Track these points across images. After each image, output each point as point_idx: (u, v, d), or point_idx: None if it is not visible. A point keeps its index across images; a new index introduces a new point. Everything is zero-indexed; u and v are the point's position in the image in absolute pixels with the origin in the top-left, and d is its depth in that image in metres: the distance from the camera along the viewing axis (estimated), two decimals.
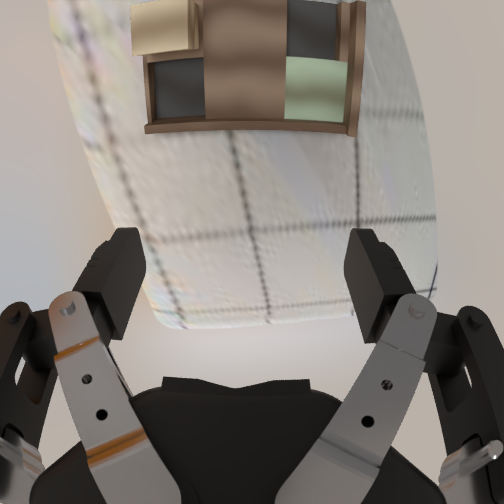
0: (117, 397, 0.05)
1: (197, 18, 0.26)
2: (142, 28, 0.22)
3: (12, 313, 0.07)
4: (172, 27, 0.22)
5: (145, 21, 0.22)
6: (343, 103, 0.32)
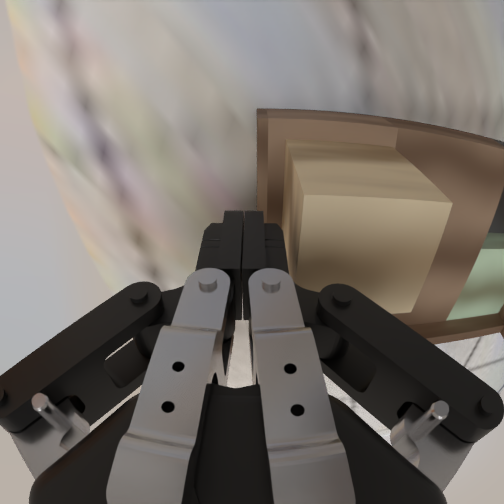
0: (193, 400, 0.05)
1: None
2: (329, 265, 0.11)
3: (138, 294, 0.08)
4: (398, 271, 0.11)
5: (340, 251, 0.11)
6: None
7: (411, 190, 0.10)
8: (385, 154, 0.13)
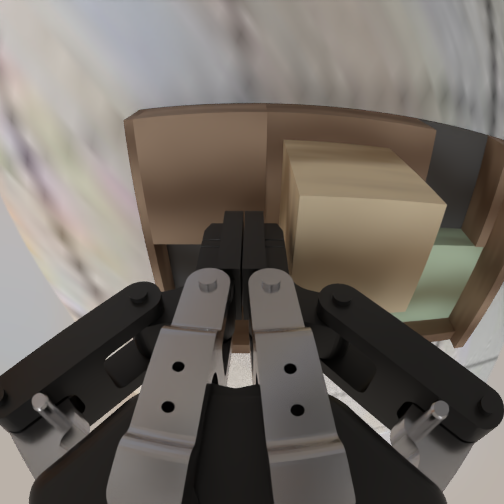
0: (193, 400, 0.05)
1: None
2: (324, 265, 0.11)
3: (138, 294, 0.08)
4: (392, 271, 0.11)
5: (335, 250, 0.11)
6: (457, 297, 0.21)
7: (406, 191, 0.10)
8: (381, 155, 0.13)
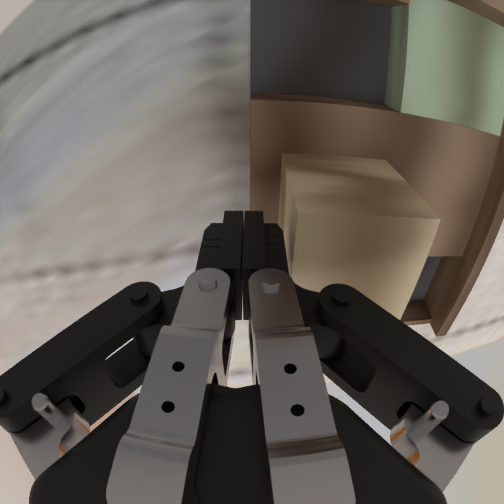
0: (193, 400, 0.05)
1: (320, 158, 0.14)
2: None
3: (138, 294, 0.08)
4: (375, 250, 0.11)
5: None
6: (486, 20, 0.09)
7: (291, 237, 0.12)
8: (283, 182, 0.14)
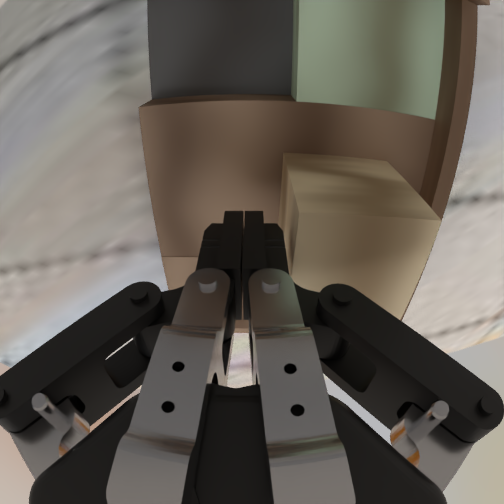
0: (193, 400, 0.05)
1: (321, 158, 0.14)
2: None
3: (138, 294, 0.08)
4: (376, 251, 0.11)
5: None
6: None
7: (292, 236, 0.12)
8: (284, 182, 0.14)
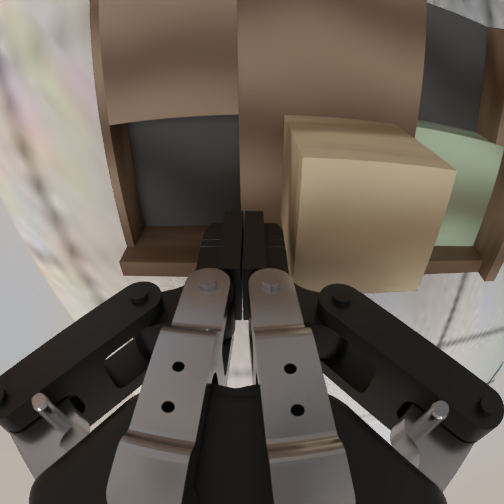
0: (194, 400, 0.05)
1: None
2: (330, 235, 0.10)
3: (138, 294, 0.08)
4: (403, 244, 0.11)
5: (342, 219, 0.10)
6: (482, 217, 0.17)
7: (413, 157, 0.09)
8: (385, 128, 0.12)
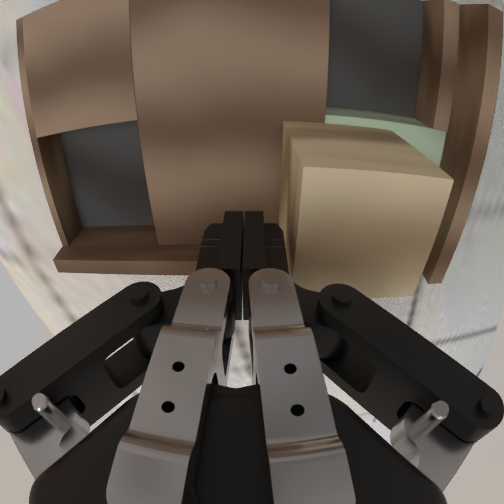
0: (194, 400, 0.05)
1: None
2: (329, 243, 0.11)
3: (138, 294, 0.08)
4: (399, 250, 0.11)
5: (340, 227, 0.10)
6: None
7: (411, 166, 0.10)
8: (383, 135, 0.13)
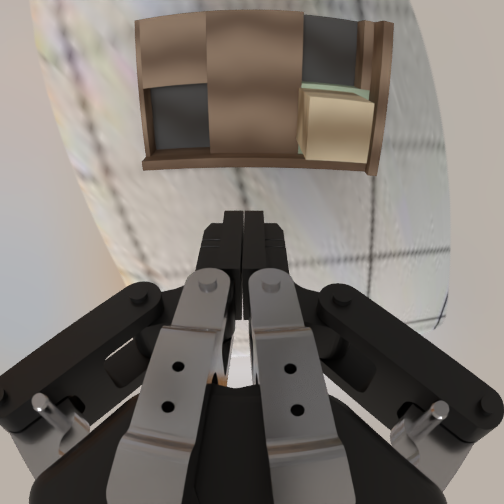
0: (193, 400, 0.05)
1: None
2: (321, 129, 0.24)
3: (138, 294, 0.08)
4: (354, 135, 0.24)
5: (326, 122, 0.24)
6: None
7: (355, 99, 0.23)
8: (347, 93, 0.26)
